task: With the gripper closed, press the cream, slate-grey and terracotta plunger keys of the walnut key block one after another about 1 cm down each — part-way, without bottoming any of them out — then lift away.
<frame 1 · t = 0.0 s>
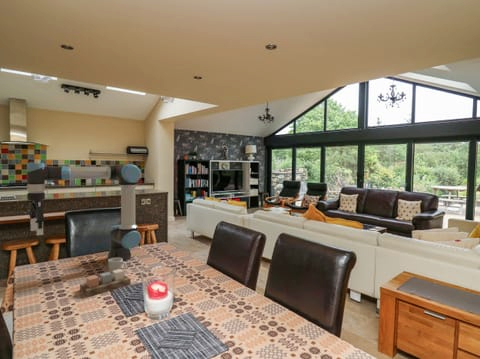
hand: (36, 232, 149), 28 cm above the table, fingers open, 13 cm apart
cream key: (118, 275, 153), point 5 cm above the table, slide at 0.0 cm
key block: (105, 287, 149), on the table
terracotta key: (92, 281, 144), point 5 cm above the table, slide at 0.0 cm
cup: (117, 273, 169), on the table
slate key: (105, 278, 149), point 5 cm above the table, slide at 0.0 cm
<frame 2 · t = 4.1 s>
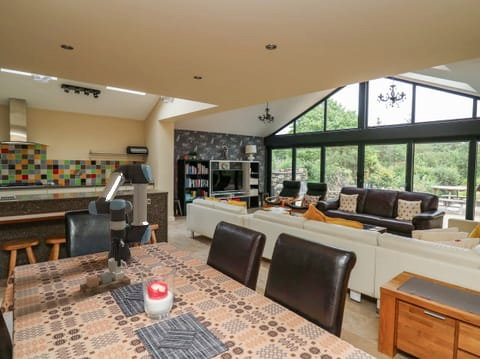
hand: (118, 271, 153), 6 cm above the table, fingers closed
cream key: (118, 276, 154), point 4 cm above the table, slide at 0.8 cm, touching gripper
everything else where it was.
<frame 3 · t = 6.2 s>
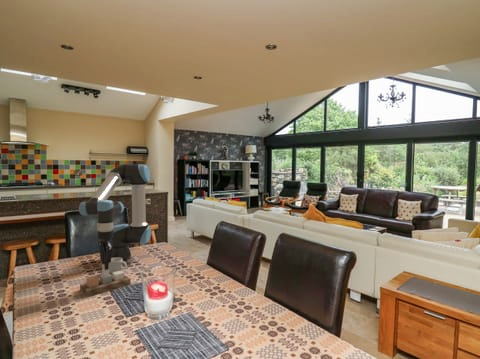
hand: (105, 275, 149), 6 cm above the table, fingers closed
cream key: (118, 276, 154), point 4 cm above the table, slide at 1.0 cm
slate key: (105, 279, 149), point 4 cm above the table, slide at 0.8 cm, touching gripper
everything else where it was.
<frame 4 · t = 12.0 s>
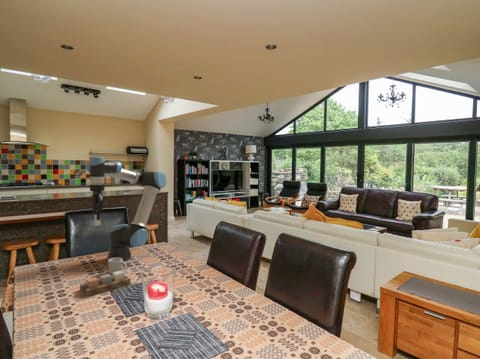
hand: (97, 225, 163), 29 cm above the table, fingers closed
terracotta key: (92, 283, 144), point 4 cm above the table, slide at 1.0 cm
slate key: (105, 280, 149), point 4 cm above the table, slide at 1.0 cm
everything else where it was.
at the end: cream key slide at 1.0 cm; slate key slide at 1.0 cm; terracotta key slide at 1.0 cm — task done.
